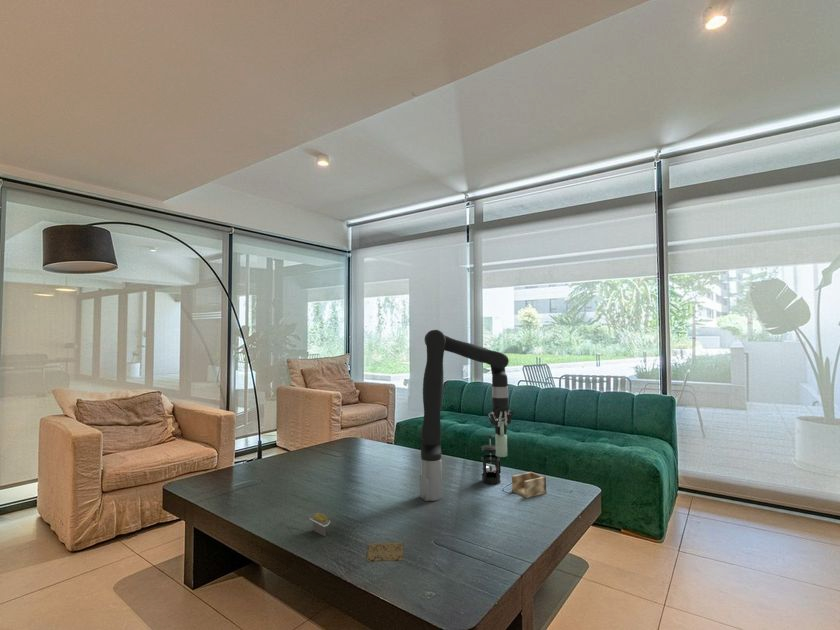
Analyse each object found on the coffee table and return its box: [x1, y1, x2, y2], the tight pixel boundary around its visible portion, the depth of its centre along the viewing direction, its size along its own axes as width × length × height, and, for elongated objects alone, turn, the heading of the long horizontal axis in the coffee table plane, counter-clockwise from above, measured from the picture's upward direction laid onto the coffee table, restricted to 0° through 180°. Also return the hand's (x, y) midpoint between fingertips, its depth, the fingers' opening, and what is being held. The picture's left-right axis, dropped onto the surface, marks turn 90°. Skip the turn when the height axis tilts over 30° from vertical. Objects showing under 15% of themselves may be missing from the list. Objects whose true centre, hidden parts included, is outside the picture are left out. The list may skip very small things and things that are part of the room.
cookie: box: [365, 542, 404, 562], centre depth 142 cm, size 12×12×1 cm
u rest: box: [511, 471, 548, 499], centre depth 195 cm, size 12×10×7 cm
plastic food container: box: [309, 512, 331, 537], centre depth 157 cm, size 12×18×6 cm, turn 47°
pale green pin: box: [494, 420, 508, 458], centre depth 194 cm, size 5×5×16 cm
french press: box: [480, 433, 502, 486], centre depth 210 cm, size 12×9×23 cm
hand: (501, 433), depth 194 cm, fingers closed on pale green pin, 3 cm apart
